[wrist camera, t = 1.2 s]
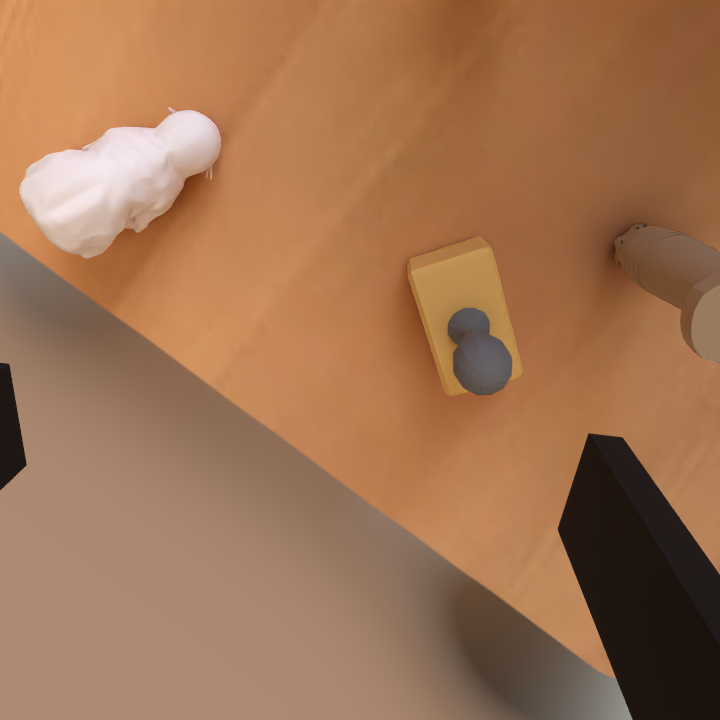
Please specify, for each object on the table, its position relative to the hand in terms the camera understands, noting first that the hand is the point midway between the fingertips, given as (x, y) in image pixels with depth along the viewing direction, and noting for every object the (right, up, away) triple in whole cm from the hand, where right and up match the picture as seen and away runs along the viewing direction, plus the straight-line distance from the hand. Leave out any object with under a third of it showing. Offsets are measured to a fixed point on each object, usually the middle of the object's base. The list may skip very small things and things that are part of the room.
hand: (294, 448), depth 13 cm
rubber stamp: (+9, +6, +29) cm, 31 cm away
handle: (+21, +10, +26) cm, 35 cm away
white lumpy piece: (-13, +15, +26) cm, 33 cm away
